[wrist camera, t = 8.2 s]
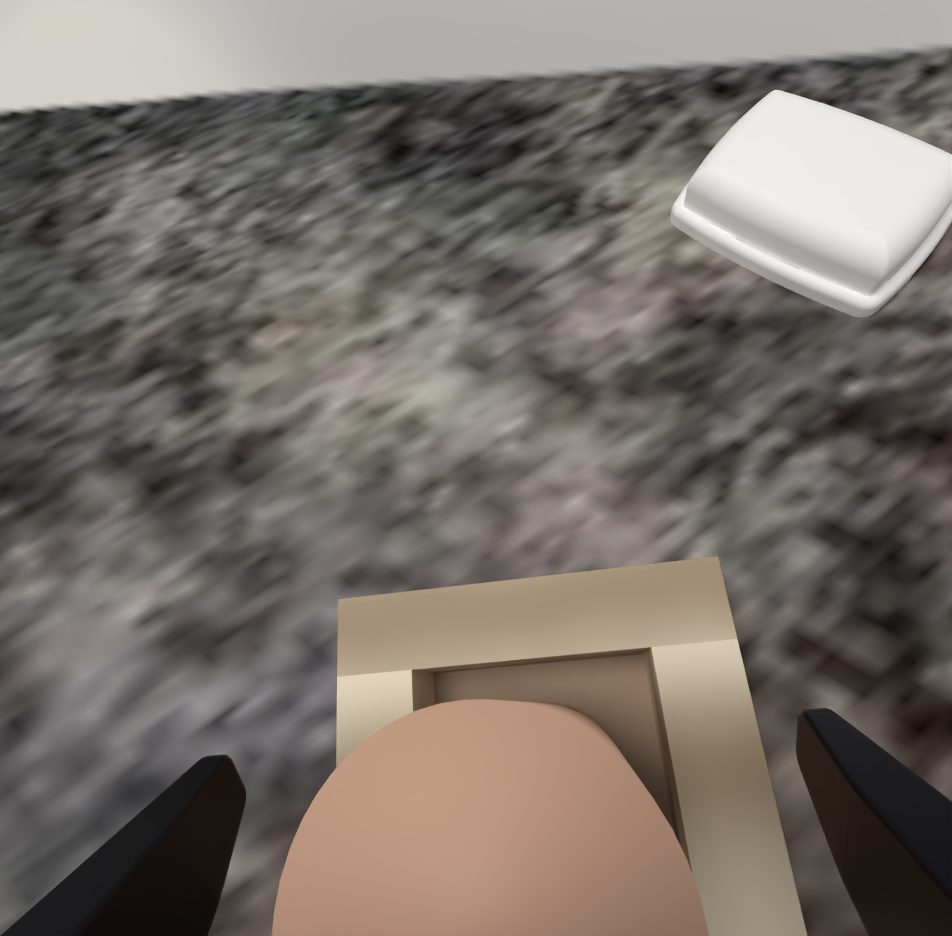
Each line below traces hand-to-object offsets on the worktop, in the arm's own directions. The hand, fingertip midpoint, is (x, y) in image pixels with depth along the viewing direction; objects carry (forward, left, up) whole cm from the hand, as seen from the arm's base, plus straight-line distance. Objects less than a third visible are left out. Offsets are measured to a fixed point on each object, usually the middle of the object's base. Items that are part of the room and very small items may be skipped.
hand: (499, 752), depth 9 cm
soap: (+21, +4, -10) cm, 24 cm away
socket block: (-1, -1, -10) cm, 10 cm away
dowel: (-1, -1, -9) cm, 9 cm away
